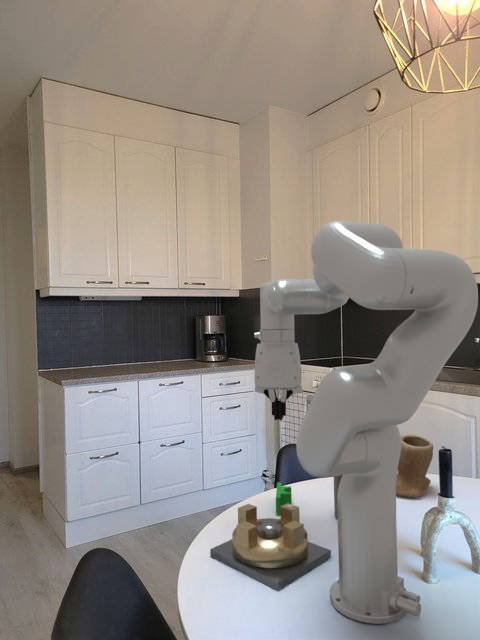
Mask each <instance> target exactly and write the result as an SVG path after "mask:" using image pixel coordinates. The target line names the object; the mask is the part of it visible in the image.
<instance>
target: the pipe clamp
mask: <svg viewBox="0 0 480 640" xmlns="http://www.w3.org/2000/svg"><path fill="white" fill-rule="evenodd" d="M275 492H276V494H275V510H276V511H275V515H276V516H279V517H280V506H282V505H285V504H287V503H289V504H291V505H293V504H292V503H293V500H292V486H290V485H289V486H288V485H287V486H283V485H282V482H277V483H276V491H275Z"/></svg>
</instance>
